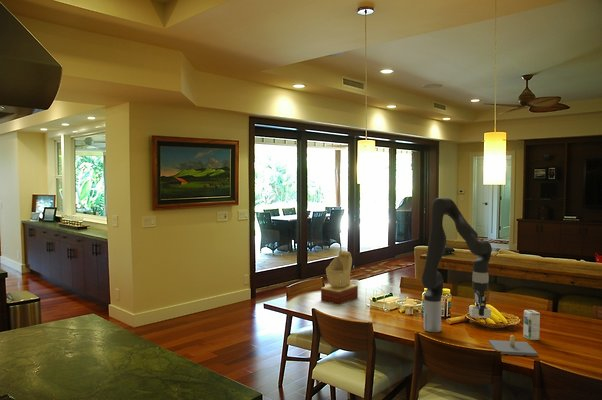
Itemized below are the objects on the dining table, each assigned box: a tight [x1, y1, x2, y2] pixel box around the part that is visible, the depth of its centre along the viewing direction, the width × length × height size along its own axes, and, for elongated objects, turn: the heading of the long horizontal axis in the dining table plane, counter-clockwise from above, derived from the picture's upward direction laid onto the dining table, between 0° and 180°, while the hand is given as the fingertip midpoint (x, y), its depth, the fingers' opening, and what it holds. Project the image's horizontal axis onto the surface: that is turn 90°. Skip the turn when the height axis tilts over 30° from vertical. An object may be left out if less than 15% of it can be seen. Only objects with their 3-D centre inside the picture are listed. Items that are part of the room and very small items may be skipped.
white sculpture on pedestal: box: [320, 248, 359, 305], centre depth 310 cm, size 25×18×35 cm
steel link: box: [468, 305, 492, 319], centre depth 215 cm, size 9×6×4 cm, turn 80°
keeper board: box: [488, 334, 538, 357], centre depth 212 cm, size 18×15×7 cm
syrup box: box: [522, 309, 541, 341], centre depth 228 cm, size 6×6×14 cm
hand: (479, 313), depth 215 cm, fingers closed on steel link, 6 cm apart
